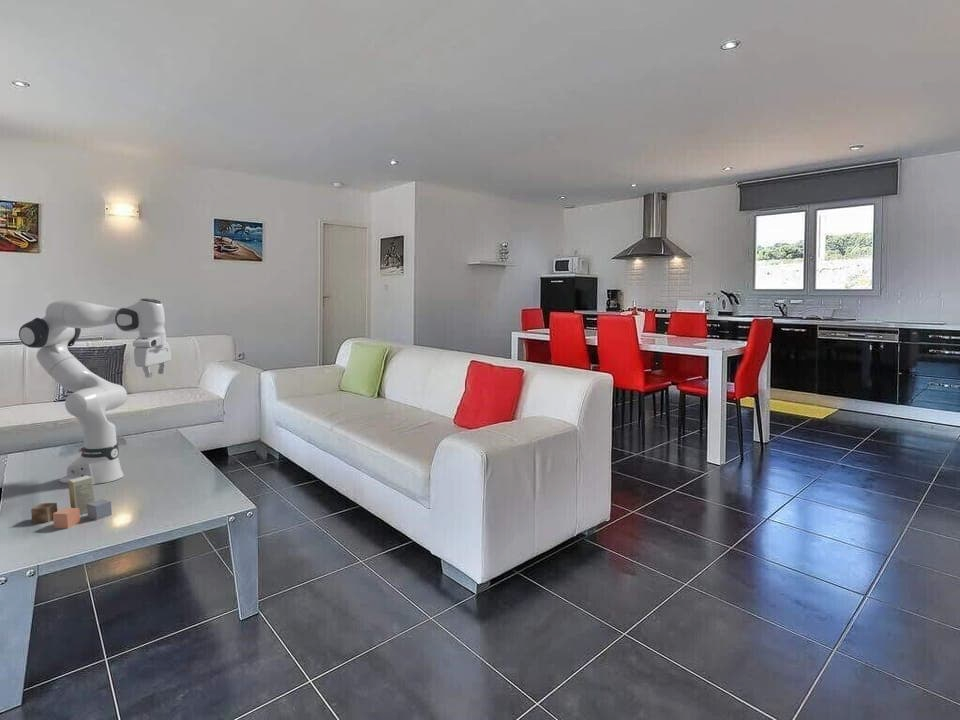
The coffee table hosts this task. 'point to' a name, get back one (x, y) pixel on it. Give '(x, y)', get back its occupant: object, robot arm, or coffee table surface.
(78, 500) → the skincare box
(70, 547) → the coffee table surface
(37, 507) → the walnut cube
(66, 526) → the terracotta cube
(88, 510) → the slate cube
